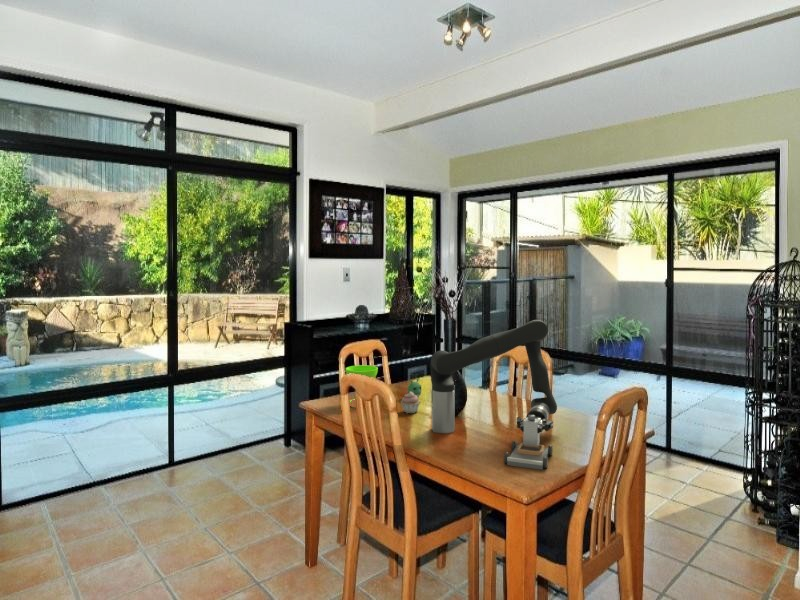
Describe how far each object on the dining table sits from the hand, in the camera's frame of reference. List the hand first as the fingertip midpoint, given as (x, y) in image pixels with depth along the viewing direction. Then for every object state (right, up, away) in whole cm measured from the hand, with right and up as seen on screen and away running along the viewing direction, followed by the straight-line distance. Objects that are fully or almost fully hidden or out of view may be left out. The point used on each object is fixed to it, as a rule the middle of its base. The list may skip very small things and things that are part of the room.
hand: (530, 429), depth 199 cm
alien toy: (-39, -4, +87) cm, 95 cm away
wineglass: (-66, -5, +76) cm, 100 cm away
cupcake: (-42, -6, +61) cm, 74 cm away
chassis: (-1, -10, -1) cm, 10 cm away
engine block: (+1, -6, +3) cm, 7 cm away
